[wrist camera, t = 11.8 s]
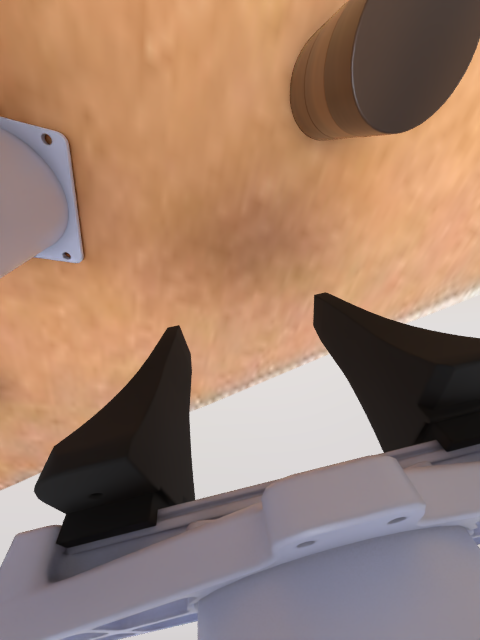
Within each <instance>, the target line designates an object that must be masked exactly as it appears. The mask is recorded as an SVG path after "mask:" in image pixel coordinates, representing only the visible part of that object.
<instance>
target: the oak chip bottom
mask: <svg viewBox="0 0 480 640" xmlns="http://www.w3.org/2000/svg"><path fill="white" fill-rule="evenodd" d="M328 21H329V20H328ZM328 21H327V22H328ZM327 22H326V23H327ZM326 23H325V24H326ZM325 24H324V25H323V26H322V27H321V28H320V29H319V30H318V31H317V32H316V33H315V34H314V35H313V36H312V37H311V38H310V39H309V40H308V42H307V43H306V44H305V46H304V47H303V49H302V50H301V52H300V54H299V56H298V58H297V61H296V63H295V66H294V70H293V73H292V78H291V85H290V103H291V109H292V113H293V116H294V119H295V121H296V123H297V125H298V126H299V128H300V129H301V130H302V131H303V132H304V133H305V134H306V135H307V136H309V137H310V138H313V139H316V140H332V139H337V138H332V137H329V136H327V135H325V134H323V133H322V132H321V131H320V130H319V129H318V128H317V127H316V126H315V124H314V123H313V121H312V119H311V117H310V115H309V112H308V109H307V105H306V99H305V75H306V68H307V64H308V59H309V56H310V53H311V50H312V48H313V45H314V43H315V41H316V39H317V37H318V35H319V33H320V32H321V30H322V29H323V27H324V26H325Z"/></svg>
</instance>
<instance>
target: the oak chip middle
mask: <svg viewBox="0 0 480 640" xmlns="http://www.w3.org/2000/svg"><path fill="white" fill-rule="evenodd" d="M349 2H350V0H348V1H347V2H346V3H345V4H344V5H343V6H342V7H341V8H340V9H339V10H338V11H337V12H336V13H335V14H334V15H333V16H332V17H331V18H330V19H329V21H328V22H327V23H326V24H325V26H324V27H323V29H322V30H321V32H320V33H319V35H318V37H317V39H316V41H315V43H314V45H313V48H312V50H311V53H310V56H309V59H308V64H307V68H306V75H305V99H306V105H307V109H308V112H309V115H310V117H311V119H312V121H313V123H314V124H315V126H316V127H317V128H318V129H319V130H320V131H321V132H322V133H323V134H325V135H327V136H329V137H332V138H337V139H342V138H353V137H357V136H353V135H350V134H348V133H346V132H345V131H343V130H342V129H341V128H340V127H339V126H338V125H337V124H336V122H335V121H334V119H333V118H332V116H331V114H330V111H329V108H328V106H327V102H326V97H325V89H324V71H325V62H326V56H327V51H328V47H329V43H330V40H331V37H332V34H333V32H334V29H335V27H336V25H337V22H338V20H339V18H340V16H341V15H342V13H343V11H344V9H345V8H346V6H347V5H348V3H349Z"/></svg>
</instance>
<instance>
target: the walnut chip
mask: <svg viewBox="0 0 480 640" xmlns="http://www.w3.org/2000/svg"><path fill="white" fill-rule="evenodd" d="M479 39H480V0H350V2H349V3H348V5H347V6H346V8H345V9H344V11H343V13H342V15H341V16H340V18H339V20H338V22H337V25H336V27H335V29H334V32H333V34H332V37H331V40H330V43H329V47H328V51H327V56H326V62H325V71H324V89H325V97H326V102H327V106H328V108H329V111H330V114H331V116H332V118H333V119H334V121H335V122H336V124H337V125H338V126H339V127H340V128H341V129H342V130H343V131H345V132H346V133H348V134H350V135H353V136H357V137H367V136H378V135H389V134H398V133H402V132H406V131H408V130H411V129H413V128H415V127H417V126H418V125H420V124H422V123H423V122H424V121H426V120H427V119H428V118H430V117H431V116H432V115H433V114H434V113H435V112H436V111H437V110H438V109H439V108H440V107H441V106H442V105H443V104H444V103H445V102H446V101H447V99H448V98H449V97H450V95H451V94H452V93H453V91H454V90H455V88H456V87H457V85H458V84H459V82H460V81H461V79H462V77H463V76H464V74H465V72H466V70H467V68H468V66H469V64H470V62H471V60H472V57H473V55H474V53H475V50H476V48H477V45H478V42H479Z"/></svg>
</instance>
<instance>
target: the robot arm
mask: <svg viewBox="0 0 480 640" xmlns="http://www.w3.org/2000/svg"><path fill="white" fill-rule="evenodd" d="M46 134H48V135H49V136H50V137H51V139H52V143H51V144H48V143H47V142H46V141H45V135H46ZM65 252H66V253H69V254H70V256H71V257H67V256H66V255H65ZM33 257H36V258H43V259H50V260H57V261H64V262H71V263H80V262H81V261H82V260H83V259H84V254H83V247H82V239H81V232H80V224H79V216H78V209H77V201H76V194H75V186H74V179H73V171H72V163H71V156H70V148H69V143H68V140H67V138H66V137H65V136H64V135H63V134H62V133H60V132H58V131H54V130H50V129H46V128H43V127H39V126H35V125H31V124H27V123H23V122H20V121H16V120H12V119H8V118H4V117H1V116H0V278H2V277H3V276H5V275H7V274H8V273H10V272H11V271H13V270H14V269H16V268H17V267H19V266H20V265H22V264H23V263H25V262H27V261H28V260H30V259H31V258H33ZM313 326H314V328H315V330H316V332H317V334H318V336H319V338H320V340H321V342H322V343H323V345H324V346H325V347H326V349H327V350H328V352H329V353H330V355H331V356H332V357H333V359H334V360H335V362H336V363H337V365H338V366H339V367H340V369H341V370H342V372H343V373H344V375H345V376H346V378H347V379H348V381H349V383H350V385H351V387H352V388H353V390H354V392H355V394H356V396H357V398H358V400H359V402H360V404H361V405H362V407H363V409H364V411H365V413H366V415H367V417H368V419H369V421H370V423H371V426H372V428H373V429H374V432H375V434H376V436H377V438H378V440H379V443H380V445H381V447H382V450H383V452H384V453H382V454H378V455H371V456H366V457H361V458H357V459H353V460H349V461H345V462H341V463H337V464H333V465H330V466H326V467H321V468H318V469H313V470H310V471H306V472H301V473H297V474H294V475H290V476H287V477H285V478H282V479H278V480H274V481H270V482H266V483H262V484H258V485H254V486H250V487H246V488H242V489H238V490H234V491H230V492H227V493H222V494H218V495H214V496H210V497H206V498H202V499H199V500H195V493H194V483H193V471H192V458H191V443H190V424H189V407H190V392H191V375H192V367H191V354H190V351H189V349H188V346H187V344H186V341H185V339H184V336H183V333H182V331H181V328H180V326H179V325H178V326H174V327H169V328H167V330H166V331H165V333H164V334H163V336H162V337H161V339H160V341H159V342H158V344H157V345H156V347H155V348H154V350H153V351H152V353H151V354H150V356H149V357H148V359H147V360H146V361H145V363H144V364H143V365H142V367H141V368H140V370H139V371H138V372H137V373H136V375H135V376H134V377H133V378H132V379H131V380H130V381H129V383H128V384H127V385H126V386H125V387H124V388H123V389H122V390H121V391H120V392H119V393H118V394H117V395H116V396H115V397H114V398H113V399H112V400H111V401H110V402H109V403H108V404H107V405H106V406H105V407H104V408H102V409H101V410H100V411H99V412H98V413H97V414H96V415H94V416H93V417H92V418H91V419H90V420H88V421H87V422H86V423H85V424H83V425H82V426H81V427H80V428H78V429H77V430H76V431H74V432H73V433H72V434H70V435H69V436H68V437H66V438H65V439H64V440H62V441H61V442H60V443H58V444H57V445H55V446H54V448H53V449H52V451H51V454H50V456H49V458H48V460H47V462H46V464H45V466H44V468H43V470H42V472H41V474H40V477H39V479H38V481H37V483H36V485H35V489H34V492H35V494H36V496H37V497H38V499H40V500H41V501H42V502H44V503H46V504H48V505H50V506H52V507H54V508H56V509H58V510H59V511H61V512H63V513H65V514H66V516H65V519H64V521H63V525H62V526H61V525H51V526H46V527H42V528H38V529H34V530H30V531H26V532H22V533H19V534H17V535H16V536H15V537H14V540H13V542H12V544H11V546H10V548H9V550H8V552H7V554H6V557H5V559H4V561H3V563H2V565H1V567H0V640H118V639H123V638H127V637H131V636H136V635H140V634H144V633H148V632H153V631H157V630H161V629H166V628H170V627H174V626H179V625H183V624H187V623H192V622H196V621H198V640H480V548H479V547H478V546H477V545H478V544H480V338H473V337H465V336H458V335H452V334H446V333H441V332H436V331H431V330H427V329H423V328H418V327H414V326H410V325H407V324H403V323H400V322H397V321H393V320H390V319H387V318H384V317H382V316H379V315H376V314H374V313H371V312H369V311H366V310H364V309H361V308H359V307H357V306H355V305H352V304H350V303H348V302H346V301H344V300H342V299H340V298H337V297H335V296H333V295H331V294H328V293H326V292H325V293H321V294H317V295H314V320H313Z"/></svg>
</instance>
